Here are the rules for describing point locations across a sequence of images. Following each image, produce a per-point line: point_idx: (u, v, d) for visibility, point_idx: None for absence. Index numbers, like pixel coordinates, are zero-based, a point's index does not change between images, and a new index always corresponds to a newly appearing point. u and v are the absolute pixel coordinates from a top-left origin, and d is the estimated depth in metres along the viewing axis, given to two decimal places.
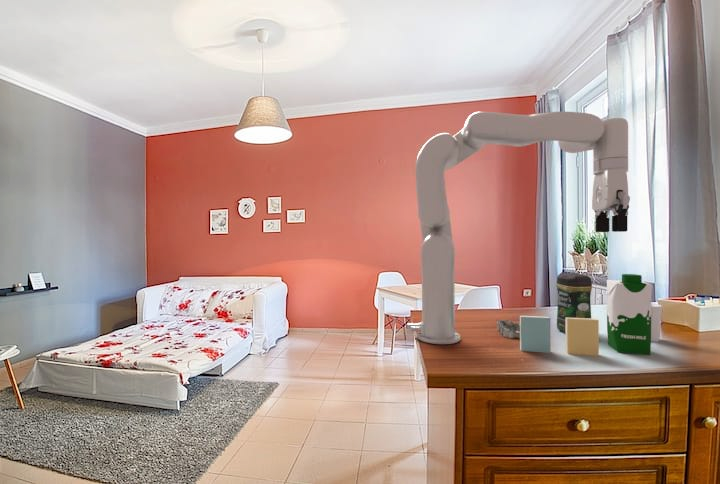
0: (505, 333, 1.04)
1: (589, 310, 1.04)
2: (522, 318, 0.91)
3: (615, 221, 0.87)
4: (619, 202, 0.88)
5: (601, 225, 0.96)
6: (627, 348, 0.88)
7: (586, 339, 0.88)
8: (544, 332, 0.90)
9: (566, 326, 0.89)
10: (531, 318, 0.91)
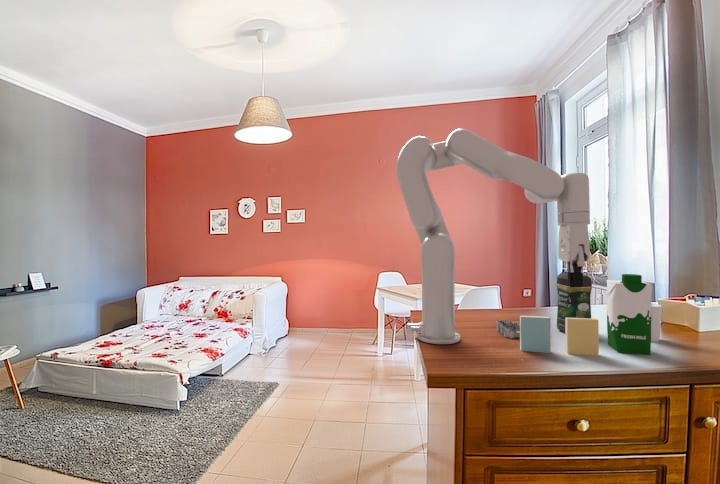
0: (506, 333, 1.04)
1: (589, 310, 1.04)
2: (522, 318, 0.91)
3: (571, 277, 0.94)
4: None
5: None
6: (627, 348, 0.88)
7: (586, 339, 0.88)
8: (544, 332, 0.90)
9: (566, 326, 0.89)
10: (531, 318, 0.91)
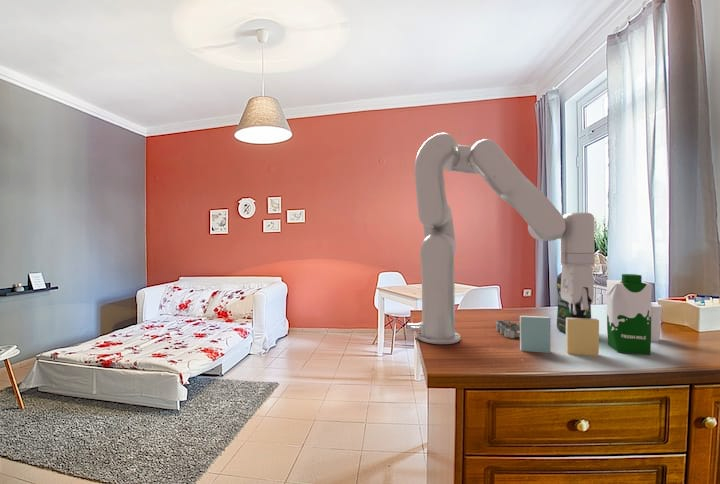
0: (506, 333, 1.04)
1: (589, 310, 1.04)
2: (522, 318, 0.91)
3: None
4: None
5: None
6: (627, 348, 0.88)
7: (586, 339, 0.87)
8: (544, 332, 0.90)
9: (566, 326, 0.89)
10: (531, 318, 0.91)
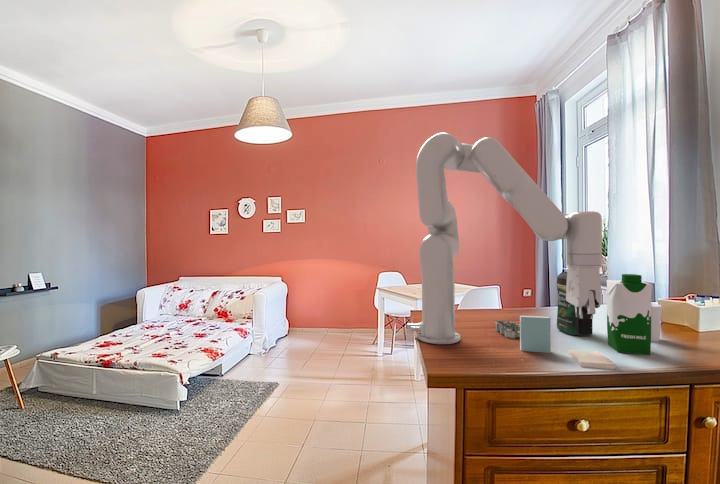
0: (507, 333, 1.04)
1: None
2: (522, 318, 0.91)
3: (580, 324, 0.86)
4: None
5: None
6: (627, 348, 0.88)
7: None
8: (544, 332, 0.90)
9: (577, 362, 0.82)
10: (531, 318, 0.91)
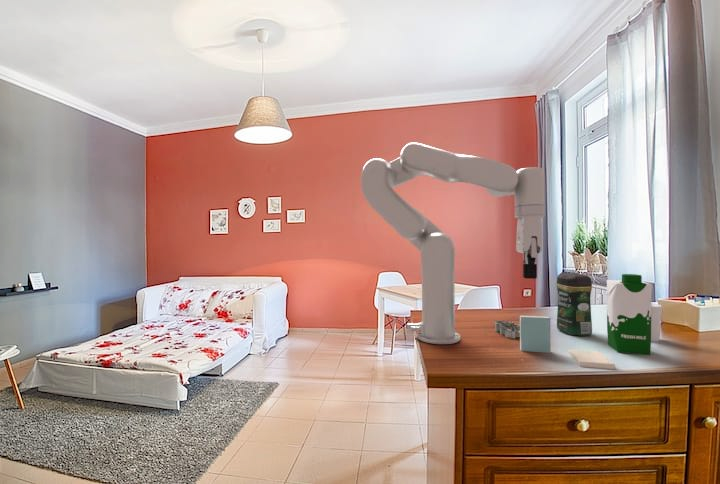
0: (507, 334, 1.03)
1: (589, 310, 1.04)
2: (522, 318, 0.91)
3: (526, 269, 0.96)
4: None
5: None
6: (627, 348, 0.88)
7: None
8: (544, 332, 0.90)
9: (576, 361, 0.82)
10: (531, 318, 0.91)
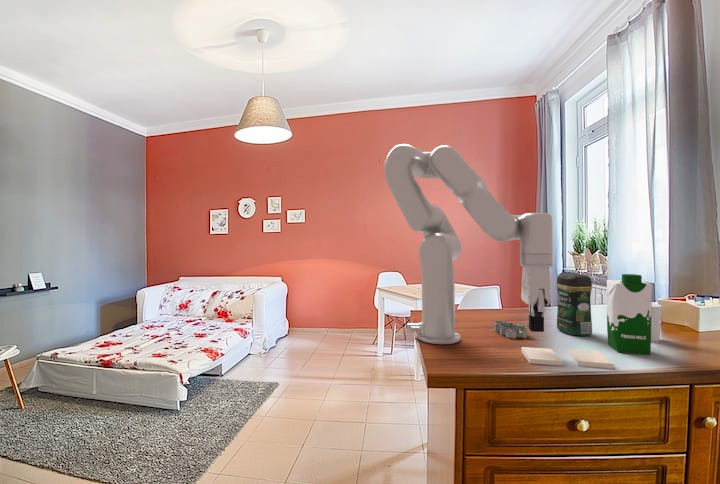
0: (508, 334, 1.03)
1: (589, 310, 1.04)
2: None
3: (532, 321, 0.89)
4: None
5: None
6: (627, 348, 0.88)
7: None
8: None
9: (575, 361, 0.83)
10: None
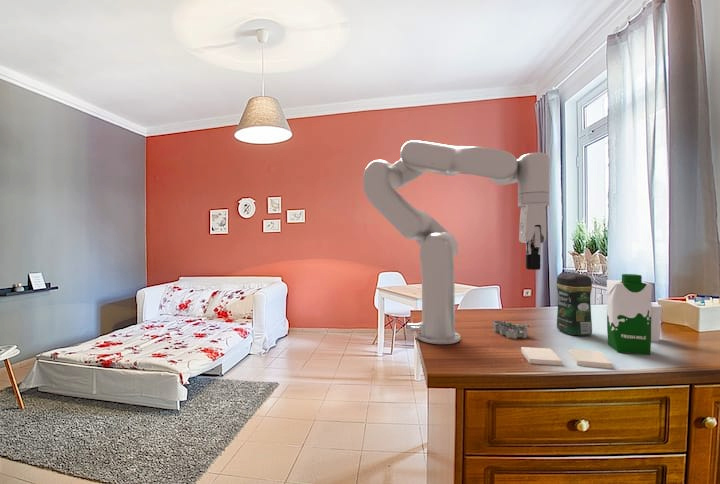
0: (509, 334, 1.03)
1: (589, 310, 1.04)
2: None
3: (529, 259, 0.92)
4: None
5: None
6: (627, 348, 0.88)
7: None
8: None
9: (574, 360, 0.83)
10: None
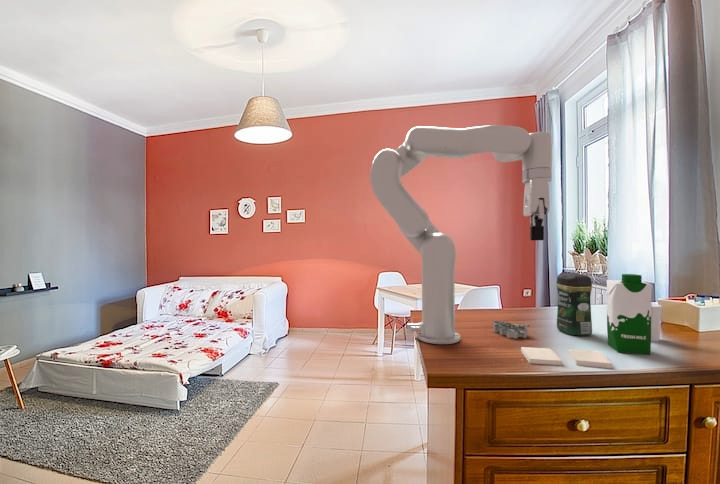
0: (509, 334, 1.03)
1: (589, 310, 1.04)
2: None
3: (533, 231, 0.99)
4: None
5: None
6: (627, 348, 0.88)
7: None
8: None
9: (574, 360, 0.83)
10: None
